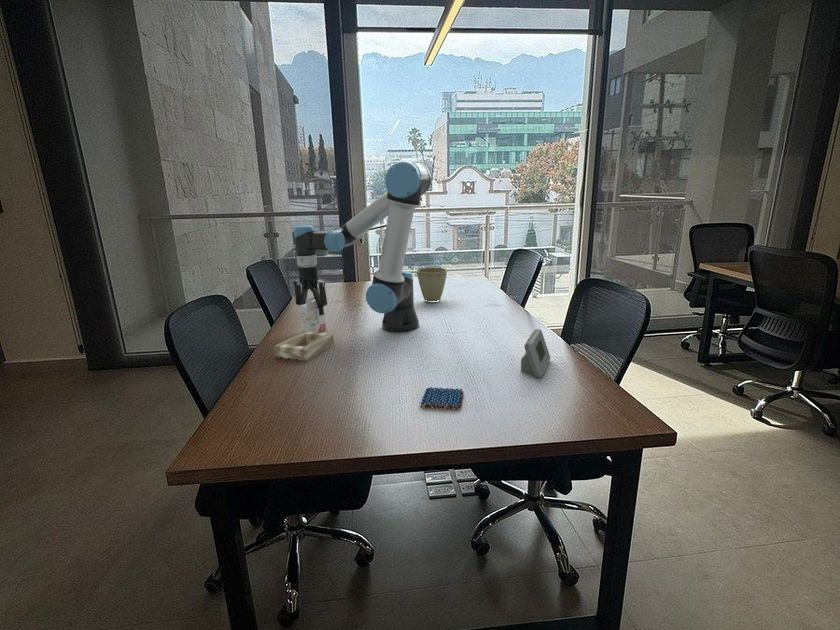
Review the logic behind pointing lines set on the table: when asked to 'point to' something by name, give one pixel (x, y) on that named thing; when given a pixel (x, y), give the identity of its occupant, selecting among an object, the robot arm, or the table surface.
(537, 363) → the digital clock
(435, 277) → the plant pot
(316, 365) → the table surface
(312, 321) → the ink cartridge box
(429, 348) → the table surface
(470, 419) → the table surface
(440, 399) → the woven mat
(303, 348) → the beige flat rectangular frame
